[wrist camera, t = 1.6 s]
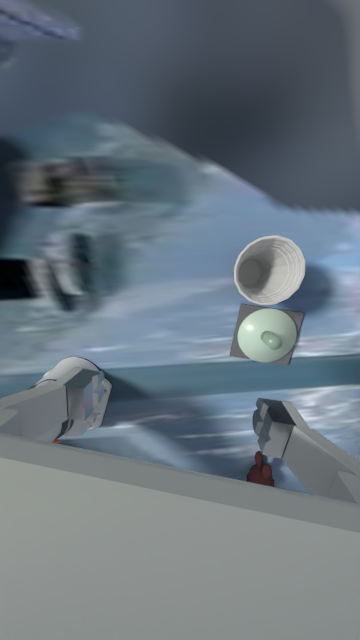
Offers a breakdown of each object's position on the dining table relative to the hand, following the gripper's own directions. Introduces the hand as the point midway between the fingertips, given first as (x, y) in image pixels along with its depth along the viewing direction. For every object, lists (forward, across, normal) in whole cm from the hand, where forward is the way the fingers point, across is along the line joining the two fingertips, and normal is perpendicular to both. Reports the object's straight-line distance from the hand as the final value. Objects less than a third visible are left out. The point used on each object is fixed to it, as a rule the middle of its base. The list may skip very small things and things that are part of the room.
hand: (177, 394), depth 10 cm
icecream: (+34, -25, +47) cm, 63 cm away
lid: (+34, -18, +6) cm, 39 cm away
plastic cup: (+35, -11, -7) cm, 37 cm away
